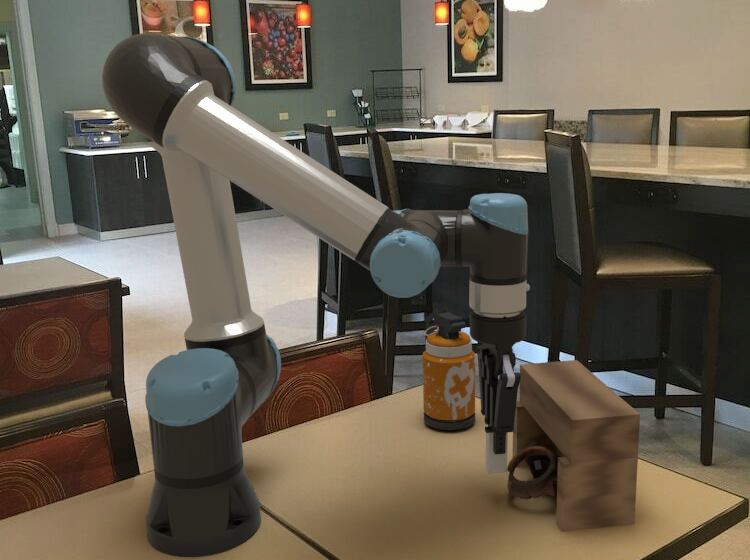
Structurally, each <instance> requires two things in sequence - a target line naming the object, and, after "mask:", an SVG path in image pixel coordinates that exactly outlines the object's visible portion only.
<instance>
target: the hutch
mask: <svg viewBox="0 0 750 560" xmlns="http://www.w3.org/2000/svg"><path fill="white" fill-rule="evenodd" d="M519 373H520V375H521V380H520V383H519V401H516V411H515V420H514V429H513V432H512V458H513V457H514V456H515V455H516V454H517V453H519V452H520V451H522V450H524V449H526V448H527V446H528V445H529V444H530V443H533V442H538V443H539V444H540V445H541V446H542V447H546V448H547V449H549V450H551V451H552V452H553V453H555V454H557V455H559V456H561V457H558V476H557V485H556V518H555V519H556V520H555V521H556V523H555V524H556V525H557V528H559V530H560V531H561V532H563V533H564V532H571V531H572V532H573V531H574V532H575V531H581V530H591V529H593V530H594V529H601V528H610V527H621V526H629V525H631V526H632V525H635V518H636V517H635V516H636V499H637V497H636V496H637V481H638V480H637V479H638V464H639V463H638V461H639V442H640V441H639V440H640V424H641V423H640V422H641V413H639V411H637V410H636V409H635V408H634V407H632V406H631V405H630V404H629V403H628V402H627V401H625V400H624V399H623V397H621V396H619V394H617V393H616V392H615V391H613V389H611V388H610V386H608V385H607V384H606V383H604V382H603V381H602V380H601V379H600V378H599V377H597V376H596V375H595V374H594V373H593V372H592V371H590V369H588V368H587V367H586V366H584V365H583V364H582V362H580V361H579V360H578V359H572V360H571V359H570V360H560V361H547V362H535V363H523V364H521V363H520V364H519ZM546 458H549V456H546ZM549 459H550V458H549ZM520 466H525V467H528V465H527V463H526V462H525V459H524V460H523V461H522V462H520V463H519V464H518V466H517V467H516V468H521V467H520Z"/></svg>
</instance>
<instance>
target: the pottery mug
mask: <svg viewBox="0 0 750 560" xmlns="http://www.w3.org/2000/svg"><path fill="white" fill-rule="evenodd" d="M546 456H549V458H550V459H549V458H546ZM558 457H561V456H559V455H557V454H555V453H553V452H552V451H551V450H549V449H547V448H546V447H542V446H541V445H540V444H539V443H538V442H533V443H530V444H529V445H528V446H527V448H526V449H524V450H522V451H520V452H519V453H517V454H516V455H515V456H514V457H513V456H512V458H511V459H510V461H509V462H508V464H507V472H508V480H507V490H508V493H509V497H510V498H511V499H512V500H513V499H514V498H518V499H521V500H527V501H528V500H531V499H532V498H533V499H538V498H540V497H543V496H546V495H548V496H551V497H555V496H556V494H555V489H554V486H557V476H558ZM524 459H525V462H526V463H527V465H528V466H527V467H528V468H529V471H530V473H531V475H532V480H520V479H517V478H516V477H515V476H514V473H515V469H516V468H518V467H517V466H518V464H519V463H520V462H522V461H523V460H524Z"/></svg>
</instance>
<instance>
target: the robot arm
mask: <svg viewBox="0 0 750 560" xmlns="http://www.w3.org/2000/svg"><path fill="white" fill-rule="evenodd" d="M102 68H103V69H102V74H101V81H102V88H103V93H104V96H105V98H106V100H107V103H108V106H110V108H111V109H112V111H113V112H114V114H115V115H116V116H117V117H118V118H120V119H121V120H122V122H124V123H125V124H127V125H128V126H129V127H130V128H132V129H133V130H134V131H137V132H138V133H140V134H141V135H142V136H144V137H145V138H146V141H147V145H148V146H149V147H151V148H152V149H154V150H155V151H157V153H159V154H160V156H161V159H162V165H163V171H164V177H165V181H166V187H167V192H168V197H169V202H170V208H171V212H172V213H171V214H172V218H173V225H174V230H175V234H176V241H177V245H178V251H179V256H180V262H181V265H182V266H181V268H182V271H183V272H182V273H183V276H184V283H185V289H186V293H187V298H188V299H187V300H188V304H189V309H190V315H191V323H189V325H188V327H187V328H186V329H185V331H184V333H183V337H184V342H185V348H186V350H182V351H179V352H178V353H177V354H170V355H168V356H166V357H164V358H163V359H161V360H159V361H158V362H157V363H155V365H154V366H153V367H152V368H151V369H150V370H149V372H148V374H147V377H146V380H145V397H144V398H145V399H144V400H145V408H146V410H147V418H148V424H149V425H148V427H149V435H150V446H151V452H152V461H153V462H152V463H153V470H154V485H153V488H152V492H151V497H150V500H149V506H148V508H147V513H146V518H145V519H146V520H145V525H146V534H147V540H148V542H149V543H150V545H151V547H153V548H155V549H156V550H158V551H160V552H161V553H163V554H166V555H170V556H177V557H186V558H187V557H188V558H189V557H190V558H191V557H192V558H195V557H196V558H197V557H205V556H206V557H207V556H212V555H215V554H220V553H222V552H226V551H229V550H231V549H233V548H236V547H238V546H240V545H242V544H243V543H245V542H246V541H247V540H249V539H251V537H252V536H254V535H255V533H256V532H257V531H258V529H260V528H259V527H260V525H261V522H262V513H261V504H260V501H259V500H260V499H259V497H258V495H257V493H256V491H255V488H254V487H253V484H252V482H251V480H250V477H249V475H248V473H247V471H246V468H245V465H244V464H245V463H244V450H243V437H242V434H243V433H242V428H243V426H244V425H245V423H246V422H247V421H248V420H249V419H250V418H251V416H252V415H253V414H254V413H255V412H256V411H257V410H258V409H259V408H260V407H261V405H262V404H263V403H265V402H266V401H267V400H268V399H269V397H270V396H271V394H272V393H273V392H274V391H275V388H276V385H277V383H278V381H279V378H280V375H281V370H282V358H281V354H280V353H281V352H280V350H279V348H278V346H277V344H276V342H275V340H274V339H273V338H272V337H271V336H269V335H268V334H267V330H266V326H265V325H266V324H265V321H264V318H263V317H262V316H260V315H259V314H258V313H256V312H254V311H253V310H252V305H251V299H250V293H249V288H248V287H249V286H248V281H247V276H246V268H245V264H244V258H243V252H242V246H241V245H242V244H241V239H240V234H239V229H238V223H237V217H236V210H235V206H234V199H233V194H232V188H231V187H232V186H231V182H232V183H233V184H235V185H236V186H237V187H239V188H241V189H242V190H244V191H245V192H247V193H248V194H250V195H252V196H253V197H255V198H256V199H258V200H259V201H261V202H262V203H264V204H265V205H267V206H269V207H270V208H272V209H273V210H275V211H277V212H278V213H280V214H282V216H285V217H286V218H287V219H289V220H290V221H292V222H294V223H295V224H296V225H299V226H300V227H302V228H303V229H305V230H306V231H308V232H309V233H311V234H312V235H314V236H316V237H317V238H318V239H321V240H322V241H323V242H324V243H326V244H328V245H329V246H331V247H332V248H334V249H336V250H338V251H339V252H340V253H342V254H343V255H345V256H346V257H348V258H350V259H351V260H353V261H355V262H356V263H357V264H359V265H361V266H362V267H364V268H365V269H366V270H368V271H370V275H371V277H372V280H373V282H374V283H375V285H376V286H377V287H378V288H379V289H380V290H381V291H382V292H383V293H385V294H387V295H388V296H390V297H395V298H399V299H400V298H401V299H402V298H403V299H405V298H406V299H407V298H411V297H415V296H417V295H419V294H421V293H422V292H424V291H425V290H426V289H427V288H428V287H429V286H430V285H431V284H432V283H434V282H435V280H436V278H437V277H438V275H439V270H440V268H441V267H449V268H450V267H455V268H456V267H458V268H463V267H469V272H470V273H469V285H468V286H469V287H468V289H469V293H468V295H469V297H468V299H469V308H470V309H472V310H471V311H470V312H469V336H470V338H471V340H473V341H475V342H478V343H480V344H482V345H477V346H476V349H475V352H476V355H477V362H478V379H479V380H478V381H479V394H480V397H479V398H480V414H481V415H482V416H484V417H483V418H484V420H483V421H484V424H485V425H486V426H484V433H485V470H486V473H487V474H488V475H492V474H503V473H508V470H507V468H508V444H509V443H508V441H509V439H508V436H509V435H508V434H509V433H513V429H514V420H515V411H516V402H518V399H517V398H518V392H519V387H520V380H521V375H520V371H519V372H518V371H517V372H514V370H515V366H516V354H515V352H514V349H513V346H515V344H517V343H520V342H522V341H524V340H525V338H526V337H527V336H526V335H527V313H526V312H525V309H526V307H527V292H529V291H530V290H531V285H530V284H529V283H527V281H528V280H527V278H528V276H527V275H528V251H529V249H528V248H529V246H528V245H529V219H528V218H529V217H528V213H529V212H528V203H527V201H526V200H525V198H524V197H523V196H521V195H519V194H513V193H504V192H499V193H498V192H495V193H479V194H476V195H473V196H472V197H471V198H470V199H469V200H470V201H469V206H468V209H463V210H462V209H461V210H460V209H459V210H443V209H442V210H438V209H436V210H429V209H428V210H427V209H426V210H423V209H411V208H404V209H401V210H399V209H397V210H392V209H390V208H389V207H388V206H387V205H385V204H384V203H382V202H380V201H379V200H377V198H374V197H373V196H371V195H370V194H368V193H367V192H365V191H364V190H362V189H361V188H359V187H357V186H356V185H354V184H353V183H351V182H349V181H348V180H346V179H345V178H343V176H340V175H338V174H337V173H335V172H334V171H332V170H331V169H329V168H328V167H326V166H325V165H323V164H322V163H320V162H318V161H317V160H316V159H314V158H312V157H311V156H309V155H307V154H306V153H304V152H303V151H302V150H300V149H298V148H297V147H296V146H294V145H292V144H290V143H289V142H288V141H286V140H285V139H282V137H280V136H278V135H277V134H275V133H273V132H272V131H271V130H269V129H268V128H266V127H264V126H262V125H261V124H260V123H258V122H256V121H255V120H253V119H252V118H250V117H248V116H247V115H245V114H244V113H243V112H241V111H239V110H238V109H236V108H235V107H233V106H232V105H233V104H234V101H235V97H236V93H237V82H236V76H235V74H234V70H233V67H232V66H231V63H230V61H229V60H228V59H227V57H226V56H225V55H224V54H223V53H222V52H221V51H220V50H219V49H218V48H217V47H215V46H213V45H211V44H210V43H207V42H205V41H203V40H201V39H198V38H196V37H192V36H179V35H177V36H176V35H164V34H160V33H152V32H150V33H149V32H143V33H139V34H133V35H131V36H128V37H126V38H124V39H122V40H121V41H120V42H119V43H117V44H115V46H114V47H113V48H112V49H111V51H110V52H109V54H108V55H107V57H106V58H105V60H104V65H103V67H102Z"/></svg>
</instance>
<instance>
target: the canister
mask: <svg viewBox="0 0 750 560" xmlns="http://www.w3.org/2000/svg"><path fill="white" fill-rule="evenodd" d="M424 321H425V322H424V323H425V327H426V330H425V331H424V332H423V334H424V335H425V336H426V340H425V350H424V351H423V352H422V387H423V388H422V389H423V391H422V393H423V400H422V401H423V421H424V422H425V424H426V425H428V426H430V427H433V428H436V429H439V430H444V431H455V430H461V429H465V428H468V427H470V426H471V425H473V424H475V421H476V353H475V352H476V351H474V350H473V341H472V340H473V339H472V338H471V336H470V334H468V333H467V332H464V331H462V329H465V328H466V322H465V321H463V317H461V316H458V315H456V314H454V313H451V312H449V310H448V308H447V307H446V308H445V309H443V310H442V311H441V312H439V313H438V312H437V310H436V309H435V310H433V311H432V312H430V313H429V314H428V315H427V316H426V317H425V318H424ZM431 321H433V324H429V323H430V322H431Z"/></svg>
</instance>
